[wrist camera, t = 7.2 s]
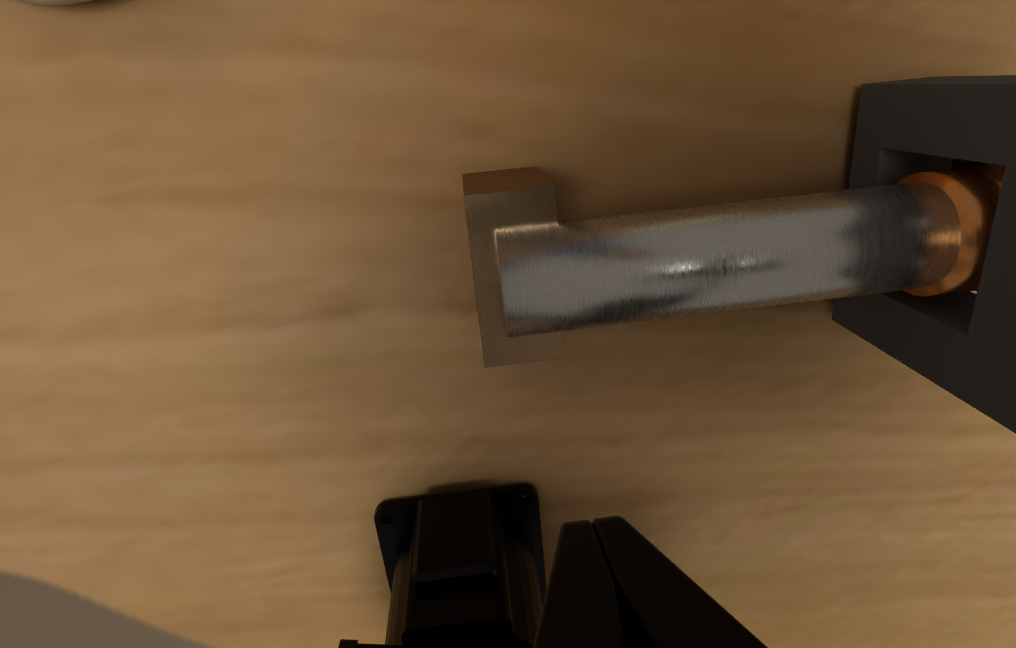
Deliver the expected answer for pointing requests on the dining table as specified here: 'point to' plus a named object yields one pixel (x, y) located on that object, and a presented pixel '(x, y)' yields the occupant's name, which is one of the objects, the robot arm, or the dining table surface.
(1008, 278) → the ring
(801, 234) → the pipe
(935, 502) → the dining table surface
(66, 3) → the stacking toy
